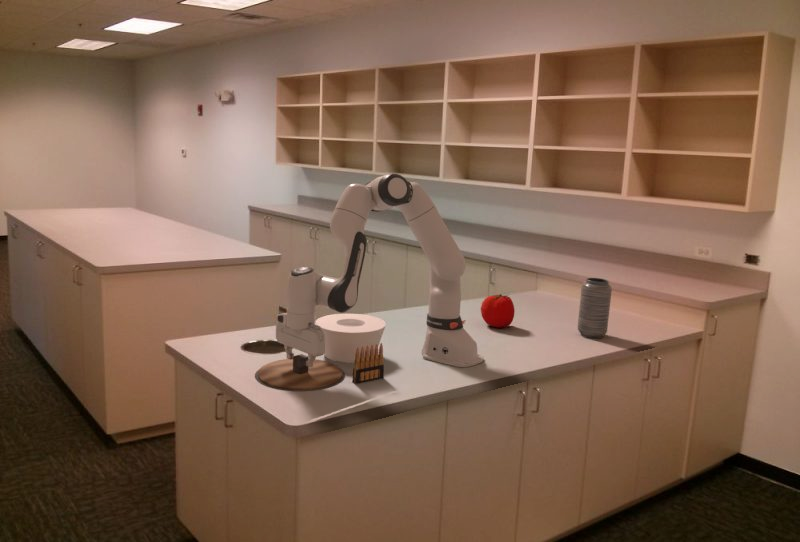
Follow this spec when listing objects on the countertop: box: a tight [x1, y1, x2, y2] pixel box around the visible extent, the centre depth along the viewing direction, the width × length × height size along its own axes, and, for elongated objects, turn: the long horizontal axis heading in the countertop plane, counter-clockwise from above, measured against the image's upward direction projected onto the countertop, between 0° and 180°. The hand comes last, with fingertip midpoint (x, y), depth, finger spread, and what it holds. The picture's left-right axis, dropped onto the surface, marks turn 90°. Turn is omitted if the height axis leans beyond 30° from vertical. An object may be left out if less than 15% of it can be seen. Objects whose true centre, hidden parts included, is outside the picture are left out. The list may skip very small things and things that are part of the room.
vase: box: [577, 277, 613, 339], centre depth 275 cm, size 12×12×23 cm
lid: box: [257, 353, 343, 390], centre depth 214 cm, size 26×26×6 cm
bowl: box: [315, 313, 387, 364], centre depth 236 cm, size 24×24×12 cm
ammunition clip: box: [352, 342, 385, 385], centre depth 212 cm, size 11×2×12 cm, turn 127°
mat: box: [254, 369, 346, 392], centre depth 215 cm, size 28×28×1 cm
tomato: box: [480, 293, 516, 329], centre depth 283 cm, size 16×14×14 cm
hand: (299, 362), depth 214 cm, fingers open, 8 cm apart
